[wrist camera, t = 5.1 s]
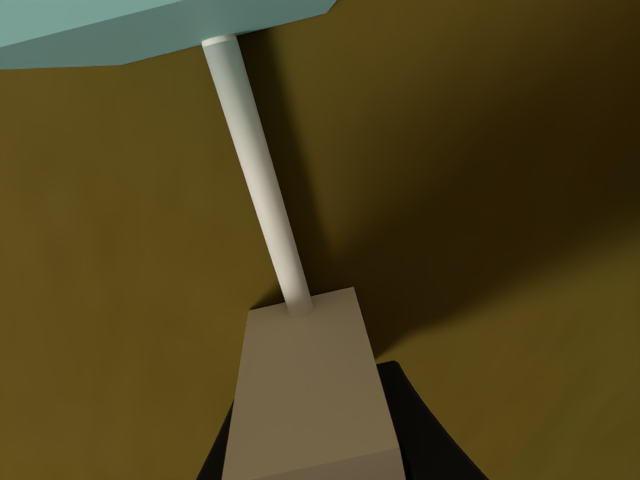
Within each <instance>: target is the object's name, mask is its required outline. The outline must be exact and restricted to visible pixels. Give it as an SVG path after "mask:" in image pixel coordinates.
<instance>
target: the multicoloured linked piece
mask: <svg viewBox="0 0 640 480" xmlns="http://www.w3.org/2000/svg"><path fill="white" fill-rule="evenodd" d="M336 1H337V0H0V69H25V68H52V67H79V66H105V65H123V64H127V63H131V62H135V61H139V60H142V59H146V58H150V57H154V56H158V55H162V54H166V53H170V52H174V51H178V50H182V49H186V48H190V47H194V46H198V45H202V47H203V50H204V53H205V56H206V59H207V62H208V65H209V68H210V71H211V75H212V78H213V81H214V84H215V87H216V90H217V93H218V96H219V99H220V102H221V105H222V108H223V111H224V114H225V117H226V121H227V124H228V127H229V130H230V133H231V136H232V139H233V142H234V145H235V148H236V151H237V154H238V157H239V160H240V164H241V167H242V170H243V173H244V176H245V179H246V182H247V185H248V188H249V191H250V194H251V197H252V200H253V203H254V206H255V210H256V213H257V216H258V219H259V222H260V225H261V228H262V231H263V234H264V237H265V240H266V243H267V246H268V249H269V253H270V256H271V259H272V262H273V265H274V268H275V271H276V274H277V277H278V280H279V283H280V286H281V289H282V292H283V295H284V299H285V303H280V304H276V305H271V306H267V307H263V308H258V309H254V310H250V311H248V317H247V323H246V330H245V336H244V342H243V348H242V355H241V361H240V367H239V374H238V380H237V386H236V393H235V399H234V405H233V411H232V418H231V424H230V430H229V437H228V443H227V449H226V456H225V462H224V468H223V474H222V480H406V478H405V473H404V468H403V463H402V458H401V452H400V447H399V444H398V440H397V437H396V433H395V430H394V426H393V423H392V419H391V416H390V412H389V409H388V405H387V402H386V398H385V395H384V391H383V388H382V384H381V381H380V377H379V374H378V370H377V367H376V363H375V360H374V356H373V353H372V349H371V346H370V342H369V339H368V335H367V332H366V328H365V325H364V321H363V318H362V314H361V311H360V307H359V304H358V300H357V297H356V293H355V290H354V287H350V288H346V289H341V290H337V291H333V292H328V293H324V294H319V295H315V296H311V297H310V293H309V290H308V286H307V283H306V279H305V276H304V272H303V269H302V265H301V262H300V258H299V255H298V251H297V248H296V244H295V241H294V237H293V234H292V230H291V227H290V223H289V220H288V216H287V213H286V209H285V206H284V202H283V199H282V195H281V192H280V188H279V185H278V181H277V178H276V174H275V171H274V167H273V164H272V160H271V156H270V153H269V149H268V146H267V142H266V139H265V135H264V132H263V128H262V125H261V121H260V118H259V114H258V111H257V107H256V104H255V100H254V97H253V93H252V90H251V86H250V83H249V79H248V76H247V72H246V69H245V65H244V62H243V58H242V55H241V51H240V48H239V44H238V41H237V38H236V36H238V35H242V34H246V33H250V32H254V31H257V30H261V29H265V28H269V27H273V26H277V25H281V24H285V23H289V22H293V21H297V20H301V19H305V18H309V17H313V16H317V15H321V14H325V13H327V12H328V10H329V9H330V8H331V7H332V6H333V4H334V3H335V2H336Z"/></svg>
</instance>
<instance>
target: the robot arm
mask: <svg viewBox="0 0 640 480" xmlns="http://www.w3.org/2000/svg"><path fill="white" fill-rule="evenodd" d="M376 367H377V370H378V374H379V377H380V381H381V384H382V388H383V391H384V395H385V398H386V402H387V405H388V409H389V412H390V416H391V419H392V423H393V426H394V430H395V433H396V437H397V440H398V444H399V447H400V452H401V458H402V463H403V468H404V473H405V478H406V480H489V479H488V478H487V477H486V476H485V475H484V474H483V473H482V472H481V470H480V469H479V468H478V467H477V466H476V465H475V464H474V463H473V462H472V461H471V459H470V458H469V457H468V456H467V455H466V454H465V453H464V452H463V450H462V449H461V448H460V447H459V446H458V445H457V444H456V442H455V441H454V440H453V439H452V438H451V436H450V435H449V434H448V433H447V432H446V430H445V429H444V428H443V427H442V425H441V424H440V423H439V422H438V420H437V419H436V418H435V417H434V415H433V414H432V413H431V411H430V410H429V409H428V407H427V406H426V405H425V403H424V402H423V401H422V399H421V398H420V396H419V395H418V394H417V392H416V391H415V389H414V388H413V386H412V385H411V383H410V382H409V380H408V379H407V377H406V375H405V374H404V372H403V370H402V369H401V367H400V365H399V363H398V362H396V361H390V362H385V363H381V364H376ZM233 405H234V400H233V403H232V405H231V407H230V409H229V412H228V414H227V416H226V418H225V421H224V423H223V425H222V427H221V429H220V432H219V434H218V436H217V438H216V440H215V442H214V444H213V447H212V449H211V451H210V453H209V455H208V457H207V459H206V461H205V463H204V465H203V467H202V469H201V471H200V473H199V475H198V477H197V479H196V480H222V474H223V468H224V462H225V456H226V449H227V443H228V437H229V430H230V424H231V418H232V411H233Z"/></svg>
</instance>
